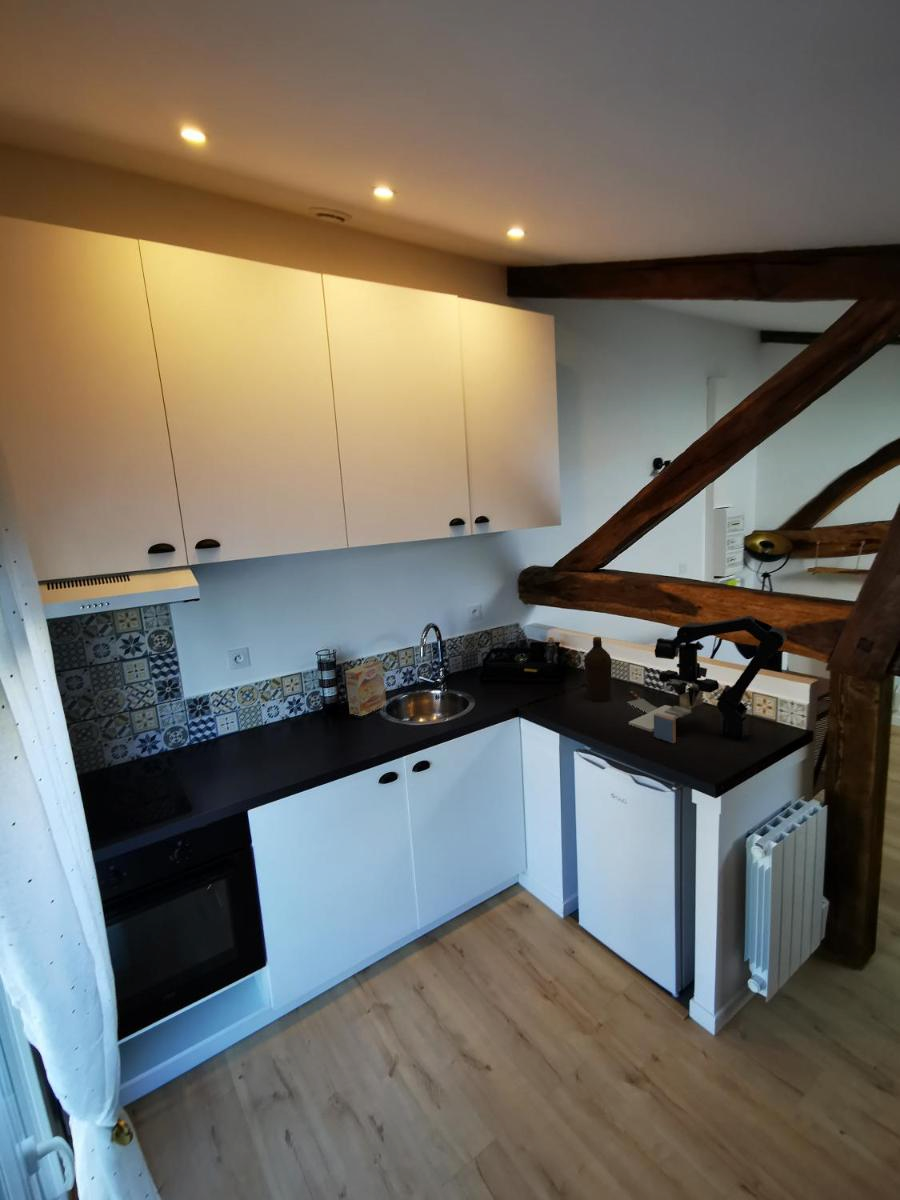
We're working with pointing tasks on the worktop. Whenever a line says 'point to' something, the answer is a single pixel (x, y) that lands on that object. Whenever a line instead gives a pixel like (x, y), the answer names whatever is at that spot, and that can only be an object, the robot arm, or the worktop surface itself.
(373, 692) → the coffeecake box
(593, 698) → the olive oil
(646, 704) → the kitchen cleaver
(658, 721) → the tile
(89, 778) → the worktop surface
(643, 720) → the rest board
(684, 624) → the robot arm
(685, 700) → the turner
